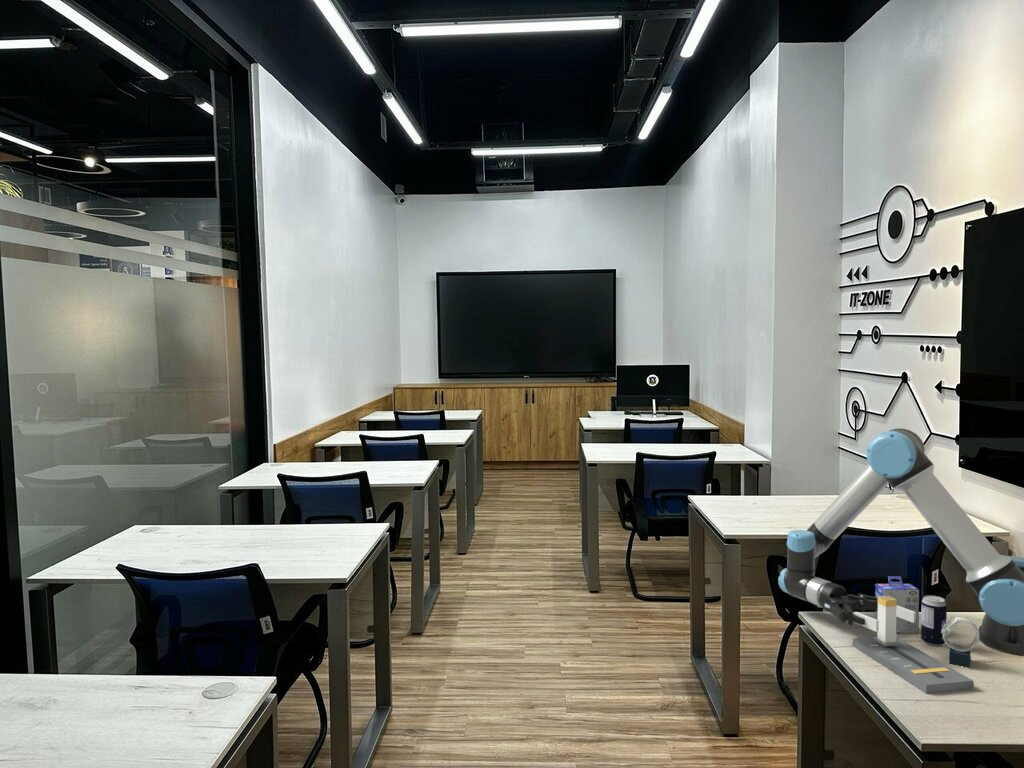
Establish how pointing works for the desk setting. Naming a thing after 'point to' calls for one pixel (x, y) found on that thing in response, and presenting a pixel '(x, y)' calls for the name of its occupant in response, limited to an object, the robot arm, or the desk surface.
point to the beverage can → (933, 620)
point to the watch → (957, 653)
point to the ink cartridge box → (901, 602)
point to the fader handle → (887, 621)
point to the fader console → (914, 666)
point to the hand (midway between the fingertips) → (896, 621)
